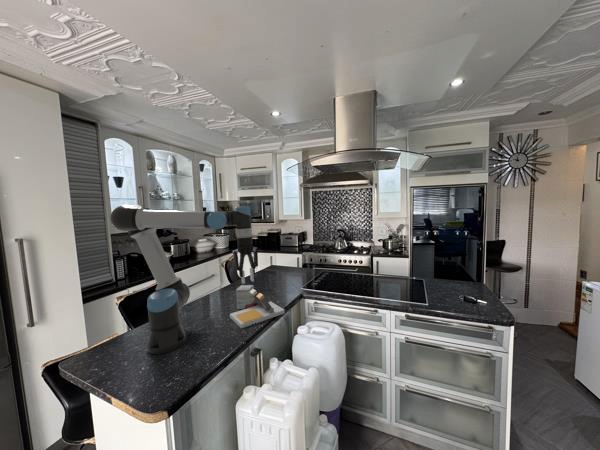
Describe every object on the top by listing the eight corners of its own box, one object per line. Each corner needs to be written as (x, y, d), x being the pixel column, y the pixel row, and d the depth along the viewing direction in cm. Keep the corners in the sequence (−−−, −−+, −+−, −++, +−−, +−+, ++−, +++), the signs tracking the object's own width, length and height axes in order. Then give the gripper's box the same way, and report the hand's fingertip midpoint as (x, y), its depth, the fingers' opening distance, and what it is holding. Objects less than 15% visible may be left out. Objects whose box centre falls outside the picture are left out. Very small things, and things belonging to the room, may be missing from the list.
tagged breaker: (270, 312, 131) (259, 298, 127) (266, 310, 134) (256, 296, 130) (273, 309, 132) (263, 294, 128) (269, 307, 136) (259, 292, 132)
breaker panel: (241, 328, 119) (240, 320, 119) (230, 317, 132) (229, 309, 132) (284, 313, 134) (284, 305, 133) (270, 304, 147) (270, 297, 146)
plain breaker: (262, 307, 138) (252, 293, 135) (259, 305, 142) (249, 291, 138) (265, 304, 140) (255, 290, 136) (262, 302, 143) (252, 288, 139)
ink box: (255, 303, 151) (253, 284, 150) (251, 309, 142) (249, 289, 141) (241, 303, 151) (240, 284, 151) (236, 309, 143) (235, 289, 142)
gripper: (230, 239, 116) (234, 287, 117) (263, 235, 126) (266, 279, 127) (225, 238, 122) (229, 284, 124) (256, 234, 132) (259, 276, 133)
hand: (247, 281), depth 125 cm, fingers open, 4 cm apart
